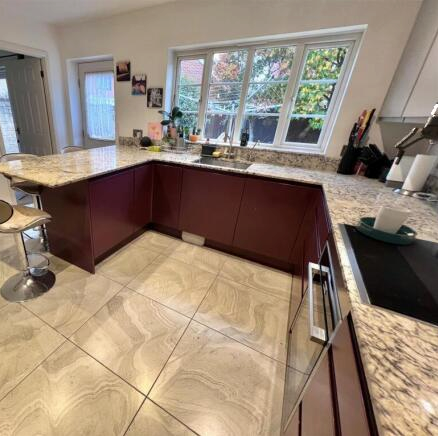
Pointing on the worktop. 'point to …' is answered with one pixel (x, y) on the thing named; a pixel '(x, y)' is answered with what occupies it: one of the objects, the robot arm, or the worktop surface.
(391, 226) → the cup
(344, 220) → the worktop surface
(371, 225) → the bowl
